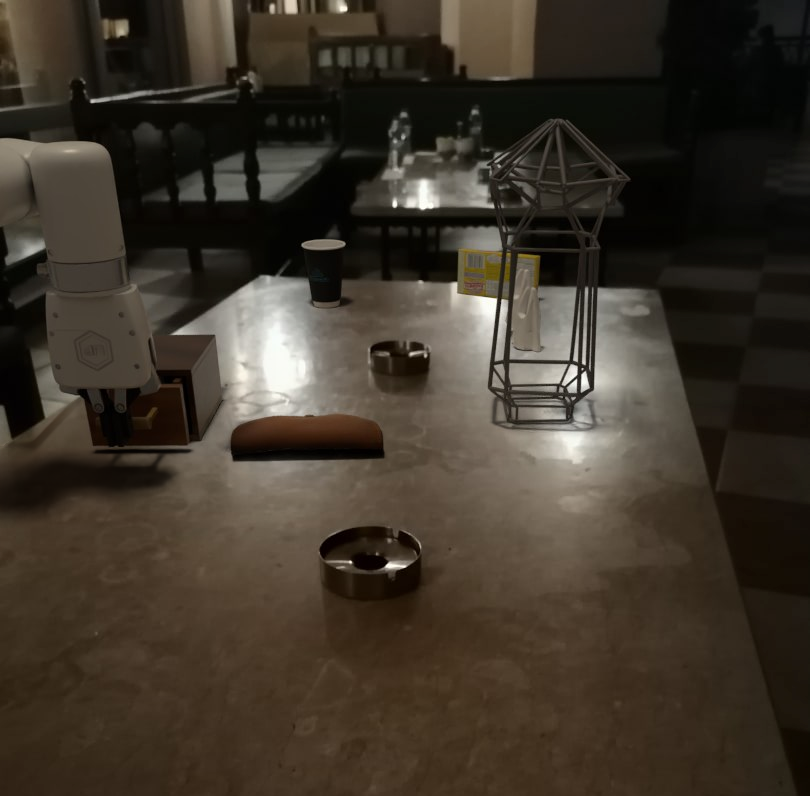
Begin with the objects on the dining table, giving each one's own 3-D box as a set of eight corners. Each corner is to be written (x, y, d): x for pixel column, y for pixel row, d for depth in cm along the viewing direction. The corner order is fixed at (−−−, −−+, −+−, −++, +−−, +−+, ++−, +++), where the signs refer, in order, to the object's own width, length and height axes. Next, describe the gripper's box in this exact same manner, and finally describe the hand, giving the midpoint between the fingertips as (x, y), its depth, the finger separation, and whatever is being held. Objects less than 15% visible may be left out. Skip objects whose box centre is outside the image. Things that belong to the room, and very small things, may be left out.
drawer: (178, 462, 104) (169, 402, 100) (79, 462, 104) (67, 402, 100) (210, 405, 120) (204, 351, 116) (125, 406, 120) (115, 352, 116)
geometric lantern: (479, 390, 126) (488, 114, 109) (593, 392, 125) (620, 113, 108) (478, 433, 113) (487, 124, 96) (606, 436, 111) (638, 124, 94)
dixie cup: (343, 298, 173) (341, 238, 167) (351, 308, 166) (349, 246, 161) (302, 300, 171) (298, 240, 166) (308, 311, 164) (304, 249, 159)
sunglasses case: (383, 426, 114) (382, 391, 108) (384, 472, 110) (384, 439, 104) (239, 429, 113) (230, 395, 107) (236, 476, 110) (227, 443, 104)
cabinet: (200, 440, 111) (191, 369, 107) (98, 441, 112) (85, 370, 107) (222, 399, 124) (215, 334, 120) (131, 400, 124) (120, 335, 120)
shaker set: (504, 331, 152) (506, 263, 147) (528, 330, 152) (532, 263, 147) (515, 352, 142) (518, 280, 136) (542, 351, 142) (546, 280, 136)
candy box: (538, 300, 169) (541, 255, 165) (534, 303, 168) (536, 257, 164) (461, 290, 177) (462, 247, 173) (456, 293, 175) (457, 249, 171)
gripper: (2, 284, 89) (41, 456, 98) (154, 283, 88) (178, 456, 97) (32, 267, 95) (65, 430, 104) (172, 266, 95) (194, 429, 104)
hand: (120, 442), depth 101 cm, fingers closed
